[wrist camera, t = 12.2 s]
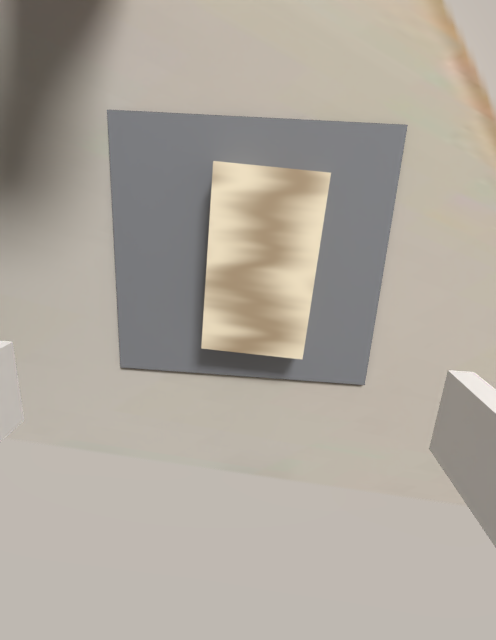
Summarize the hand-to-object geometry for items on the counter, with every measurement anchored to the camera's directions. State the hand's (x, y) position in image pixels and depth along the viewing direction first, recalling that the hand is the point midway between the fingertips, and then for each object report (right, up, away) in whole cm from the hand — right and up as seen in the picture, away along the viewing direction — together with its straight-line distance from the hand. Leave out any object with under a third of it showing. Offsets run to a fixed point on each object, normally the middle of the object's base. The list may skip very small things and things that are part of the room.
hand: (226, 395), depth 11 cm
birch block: (+1, 0, +15) cm, 15 cm away
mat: (+1, +7, +15) cm, 16 cm away
